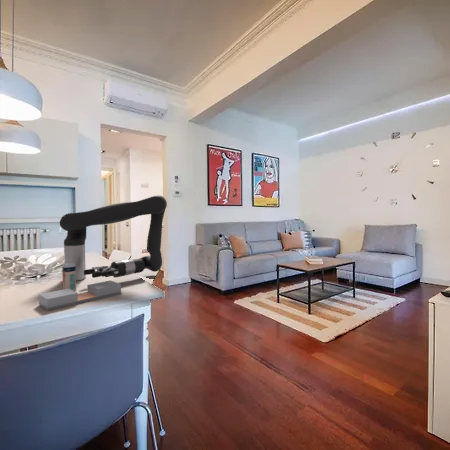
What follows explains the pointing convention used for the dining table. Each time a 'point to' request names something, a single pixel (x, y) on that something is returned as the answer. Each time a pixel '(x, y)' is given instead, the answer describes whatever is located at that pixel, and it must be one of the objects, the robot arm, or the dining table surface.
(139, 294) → the dining table surface
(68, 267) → the beer can
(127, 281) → the dining table surface
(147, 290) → the dining table surface
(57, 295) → the grey peach bar
